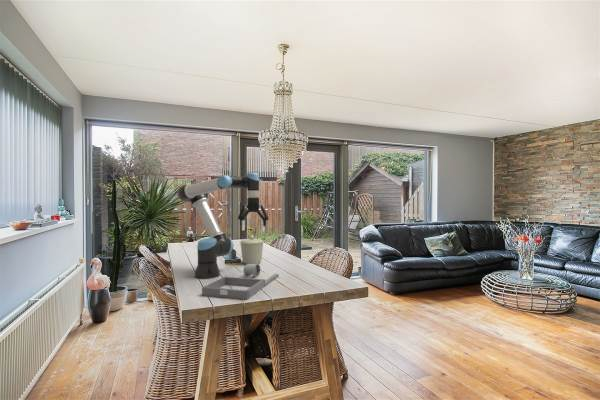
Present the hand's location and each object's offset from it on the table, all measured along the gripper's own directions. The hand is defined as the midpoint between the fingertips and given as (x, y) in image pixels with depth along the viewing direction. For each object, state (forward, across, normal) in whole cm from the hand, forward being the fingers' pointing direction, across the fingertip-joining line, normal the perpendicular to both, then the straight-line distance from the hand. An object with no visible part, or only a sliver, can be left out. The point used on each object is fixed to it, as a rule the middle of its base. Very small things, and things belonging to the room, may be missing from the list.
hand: (253, 230), depth 206 cm
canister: (+29, +16, -34) cm, 47 cm away
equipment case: (+28, -4, +22) cm, 36 cm away
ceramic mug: (+26, -4, +12) cm, 29 cm away
